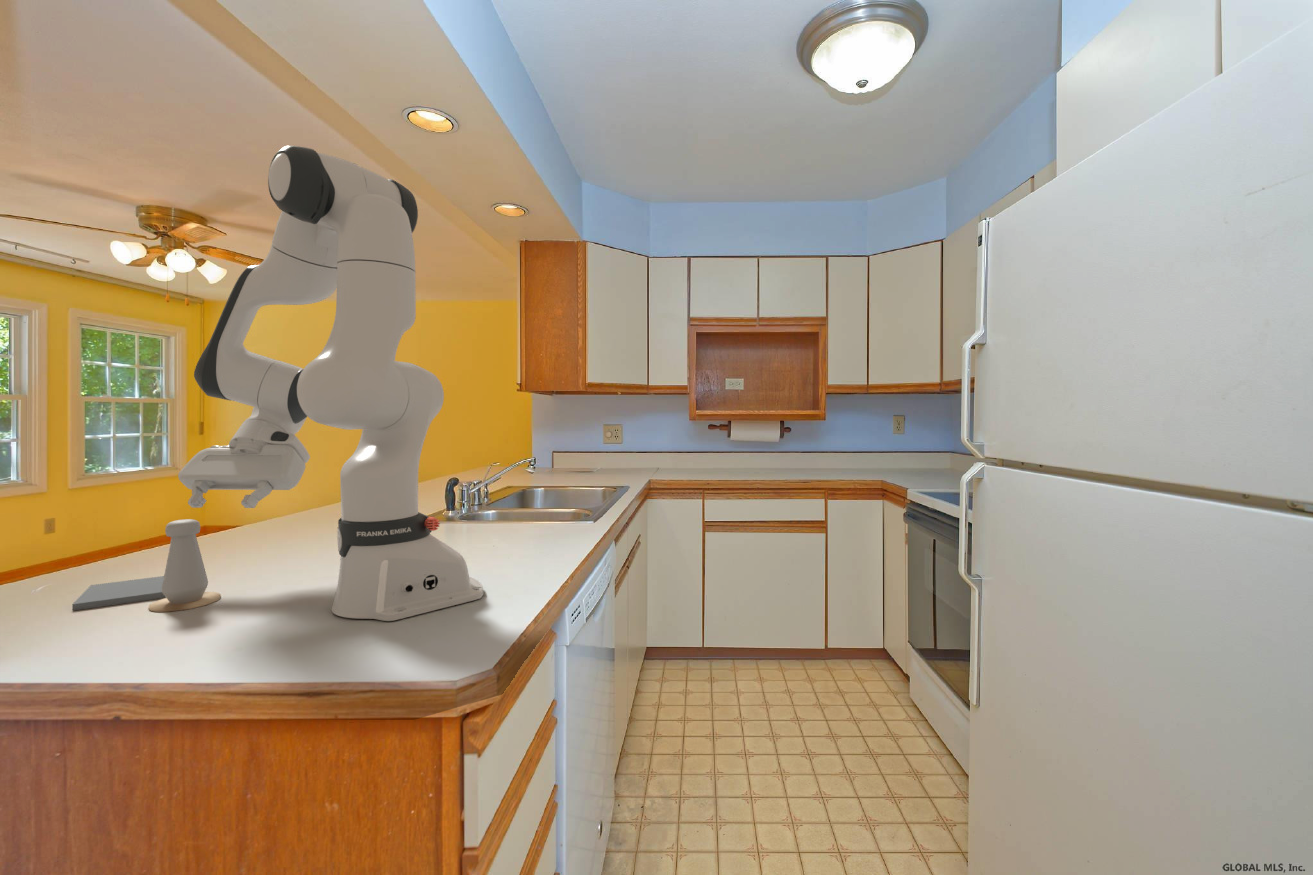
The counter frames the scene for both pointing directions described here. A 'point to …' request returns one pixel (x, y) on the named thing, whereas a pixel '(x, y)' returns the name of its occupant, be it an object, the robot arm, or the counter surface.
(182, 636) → the counter surface
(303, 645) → the counter surface
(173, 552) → the salt shaker
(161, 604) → the coaster
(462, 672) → the counter surface
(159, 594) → the mat
